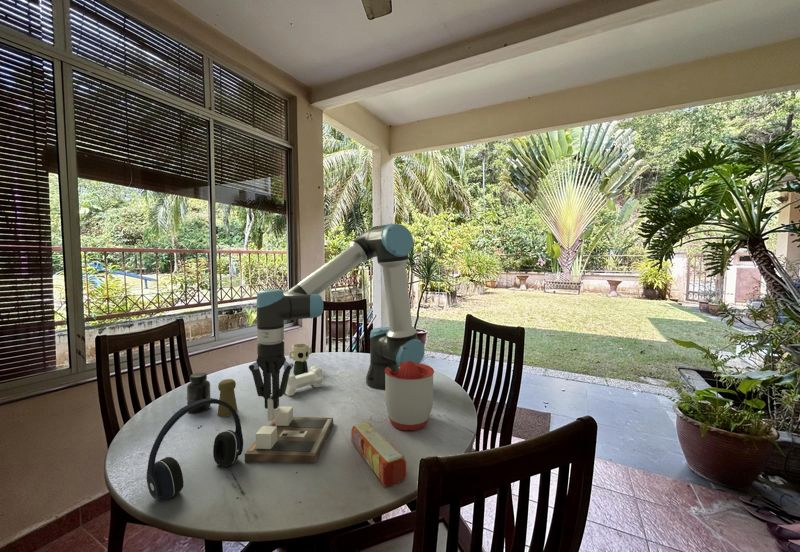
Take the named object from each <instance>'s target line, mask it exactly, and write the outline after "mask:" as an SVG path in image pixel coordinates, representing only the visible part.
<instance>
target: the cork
mask: <svg viewBox="0 0 800 552" xmlns="http://www.w3.org/2000/svg"><path fill="white" fill-rule="evenodd" d="M236 385H237V383H236V380H234V379H233V378H227V379H222V380H220V381H219V383H218V386H217V387H218V391H219V399H218V400H221V401H223V402H226V403H227V404H229V405H230V406H232V407H233V409H234V410H235V411H236V412H237V413H238V404H237V399H236V392H235V388H236V387H237V386H236ZM230 416H233V415H232V413H231V412H230V411H229V409H227V408H226V407H224V406H222V405H220V404H218V406H217V417H221V418H224V417H225V418H226V417H230Z"/></svg>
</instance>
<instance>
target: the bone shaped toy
mask: <svg viewBox="0 0 800 552" xmlns="http://www.w3.org/2000/svg"><path fill="white" fill-rule="evenodd" d="M281 381H282V379H281V380H280V382H281ZM323 381H325V376H324V372H323V369H322V368H321V367H318V366H317V365H313V366H311V367H310V368H309V370H308V373H305V372H304V373H303V374H301V375H295V374H292V373H291V372H290V374H289V379H288V383H287V387H286V392H285V394H284V395H286V396H288V397H292V396H294V395H295V394H296V391H297V389H301V388H303V387H307V386H313V387H314V388H321V387H322V385H323Z"/></svg>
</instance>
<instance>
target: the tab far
mask: <svg viewBox="0 0 800 552" xmlns="http://www.w3.org/2000/svg"><path fill="white" fill-rule="evenodd" d="M293 417H294V407H293V406H285V405H283V406H280V405H279V407H278V408H277V409H276V411H275V426H289V424H290V423H291V421H292V420H293Z"/></svg>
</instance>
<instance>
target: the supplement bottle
mask: <svg viewBox="0 0 800 552" xmlns="http://www.w3.org/2000/svg"><path fill="white" fill-rule="evenodd" d="M207 379H208V374H207V373H206V372H196V373H195V372H194V373H192V374H190V376H189V383H188V384H187V386H186V396H187V397H186V401H187V402H186V404H187V405H188V404H191V403H193V402H196V401H199V400H202V399H208V398H211V382H210V381H209V380H207ZM187 405H186V406H187ZM211 406H212V404H207V405H203V406H200V407H198V408H195V409H193V410H191V411H189V412H188V413H191V414H198V413H203V412H205V410H206V411H208V410H209V409H210V408H211ZM207 409H208V410H207Z"/></svg>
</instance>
